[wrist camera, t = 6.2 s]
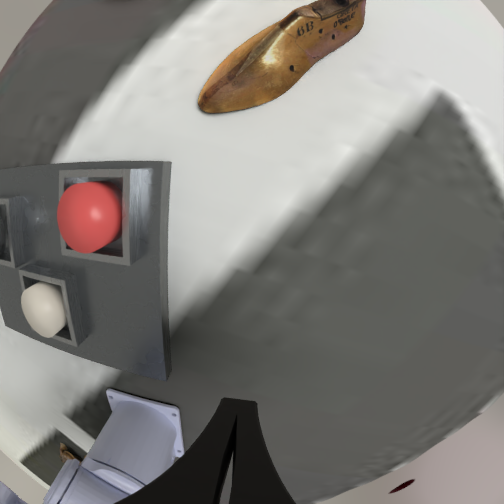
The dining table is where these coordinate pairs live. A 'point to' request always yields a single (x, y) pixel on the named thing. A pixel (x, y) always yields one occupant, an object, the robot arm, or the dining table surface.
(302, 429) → the dining table surface
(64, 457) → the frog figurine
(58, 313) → the ivory button
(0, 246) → the steel button
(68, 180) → the slate panel
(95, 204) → the red button
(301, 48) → the shoe last
